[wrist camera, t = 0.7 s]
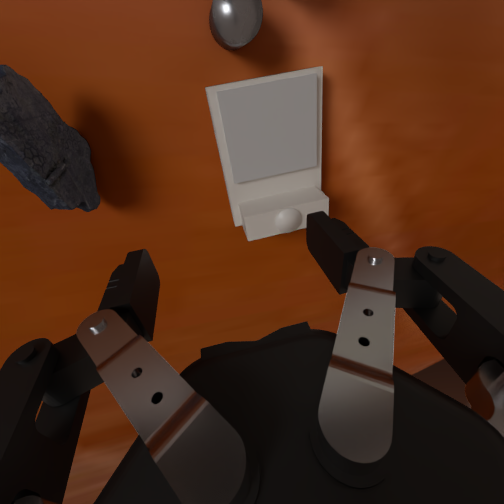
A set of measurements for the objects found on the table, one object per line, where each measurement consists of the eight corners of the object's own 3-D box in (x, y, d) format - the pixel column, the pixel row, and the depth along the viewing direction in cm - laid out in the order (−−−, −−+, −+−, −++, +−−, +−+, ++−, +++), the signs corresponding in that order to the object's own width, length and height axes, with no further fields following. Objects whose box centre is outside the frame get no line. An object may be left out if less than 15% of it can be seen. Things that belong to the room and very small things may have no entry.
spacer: (204, -4, 25) (207, -21, 20) (248, -10, 25) (259, -28, 21) (214, 53, 27) (218, 48, 23) (254, 46, 27) (265, 40, 23)
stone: (129, 185, 33) (108, 219, 25) (89, 206, 33) (56, 246, 25) (34, 62, 25) (-44, 52, 17) (-17, 92, 25) (-117, 96, 17)
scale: (204, 87, 29) (208, 88, 23) (313, 67, 30) (344, 63, 24) (233, 219, 38) (241, 244, 32) (314, 200, 39) (336, 221, 33)
